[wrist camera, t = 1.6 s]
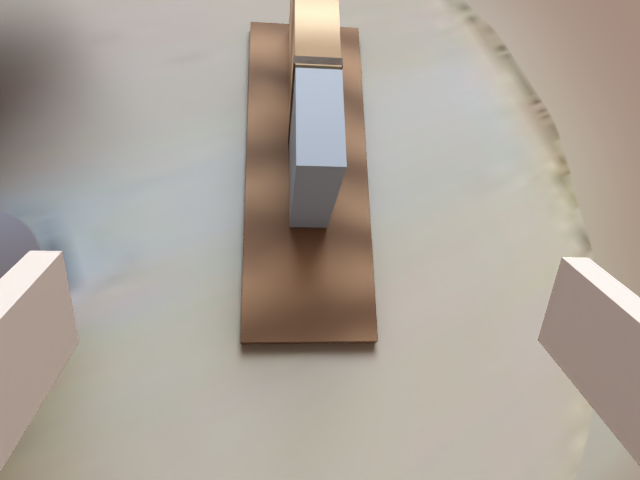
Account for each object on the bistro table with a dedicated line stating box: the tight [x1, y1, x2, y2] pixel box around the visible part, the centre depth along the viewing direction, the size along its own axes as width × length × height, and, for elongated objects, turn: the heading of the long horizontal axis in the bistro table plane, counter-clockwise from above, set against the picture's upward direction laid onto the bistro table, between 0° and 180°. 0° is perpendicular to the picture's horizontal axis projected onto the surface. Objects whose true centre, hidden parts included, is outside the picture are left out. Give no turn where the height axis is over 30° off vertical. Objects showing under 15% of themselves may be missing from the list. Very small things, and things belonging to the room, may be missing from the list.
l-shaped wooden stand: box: [241, 0, 378, 344], centre depth 36 cm, size 29×10×11 cm, turn 1°
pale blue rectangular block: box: [289, 68, 347, 228], centre depth 34 cm, size 7×3×10 cm, turn 1°
